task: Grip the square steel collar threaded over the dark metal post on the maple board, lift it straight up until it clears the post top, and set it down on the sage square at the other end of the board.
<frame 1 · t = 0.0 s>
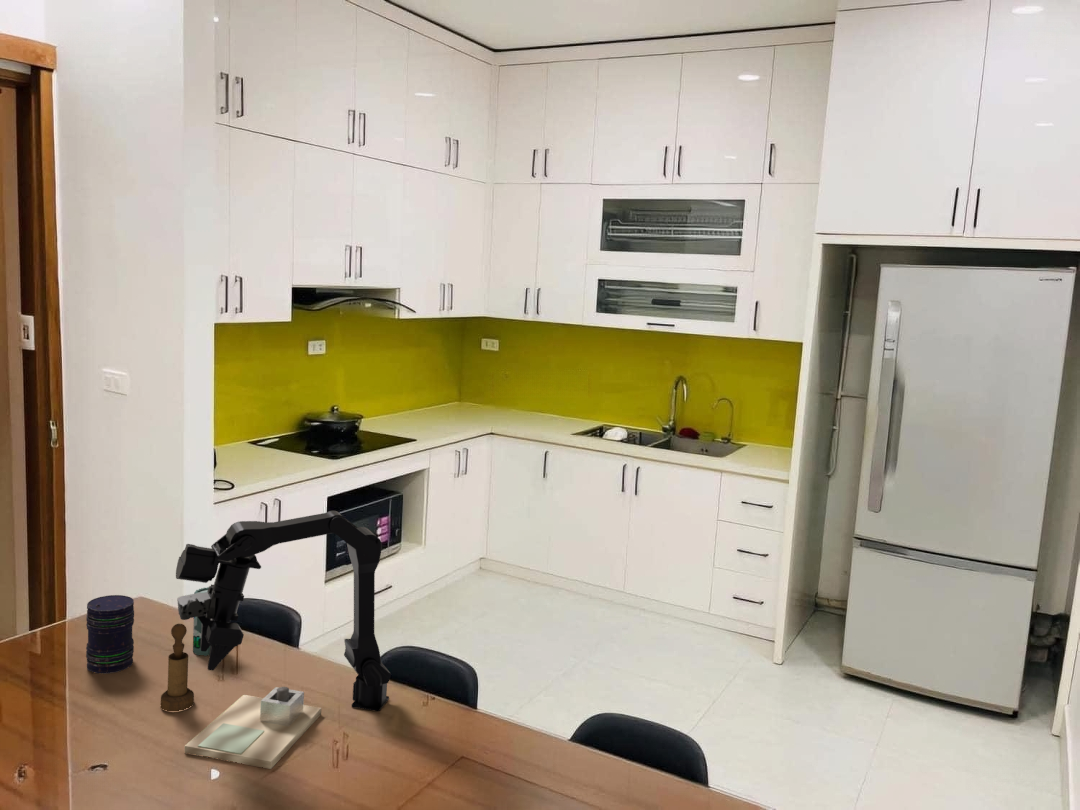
hand: (206, 660, 172), 15 cm above the table, tool pointing down, fingers open, 9 cm apart
storage jar: (110, 665, 200), on the table
can: (206, 651, 211), on the table
collar: (281, 716, 179), point 1 cm above the table, touching board
board: (256, 732, 175), on the table
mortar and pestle: (177, 706, 184), on the table
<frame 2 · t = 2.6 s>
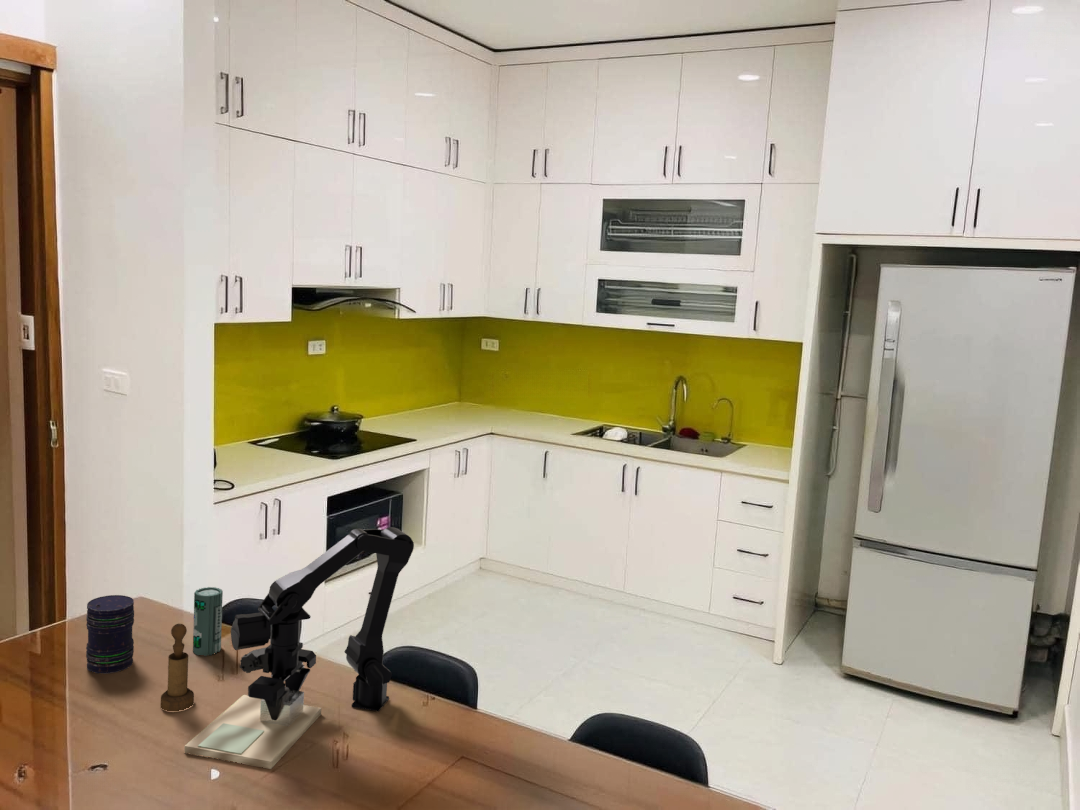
hand: (282, 712, 179), 3 cm above the table, tool pointing down, fingers closed on collar, 6 cm apart
collar: (281, 716, 179), point 2 cm above the table, touching board, gripper
everything else where it was.
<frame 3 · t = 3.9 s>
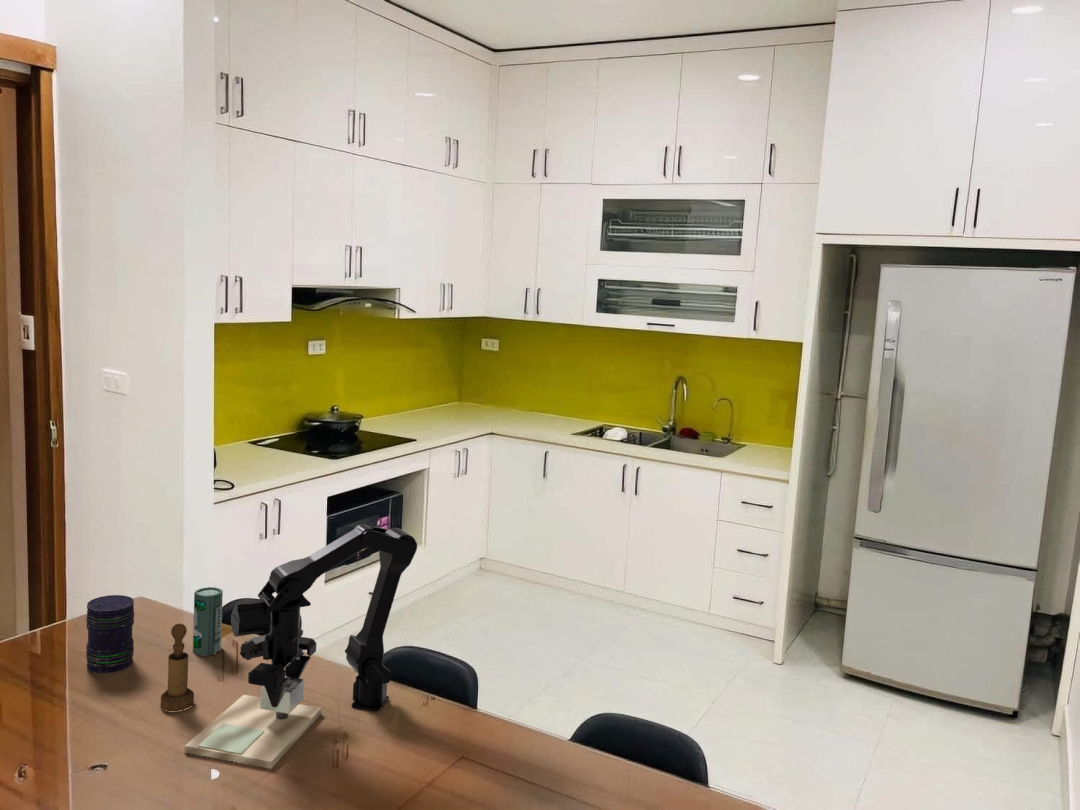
hand: (282, 699, 179), 5 cm above the table, tool pointing down, fingers closed on collar, 6 cm apart
collar: (282, 704, 179), point 4 cm above the table, touching gripper
everything else where it was.
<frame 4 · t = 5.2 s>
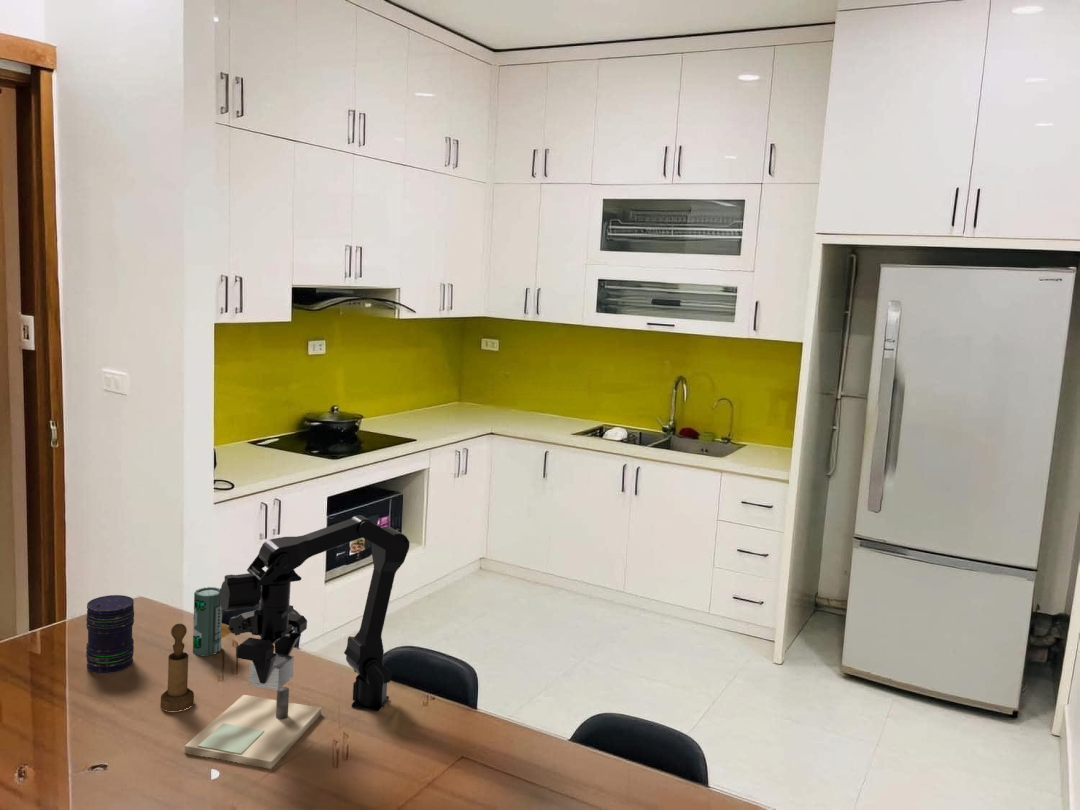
hand: (271, 676, 176), 11 cm above the table, tool pointing down, fingers closed on collar, 6 cm apart
collar: (271, 680, 176), point 10 cm above the table, touching gripper
everything else where it was.
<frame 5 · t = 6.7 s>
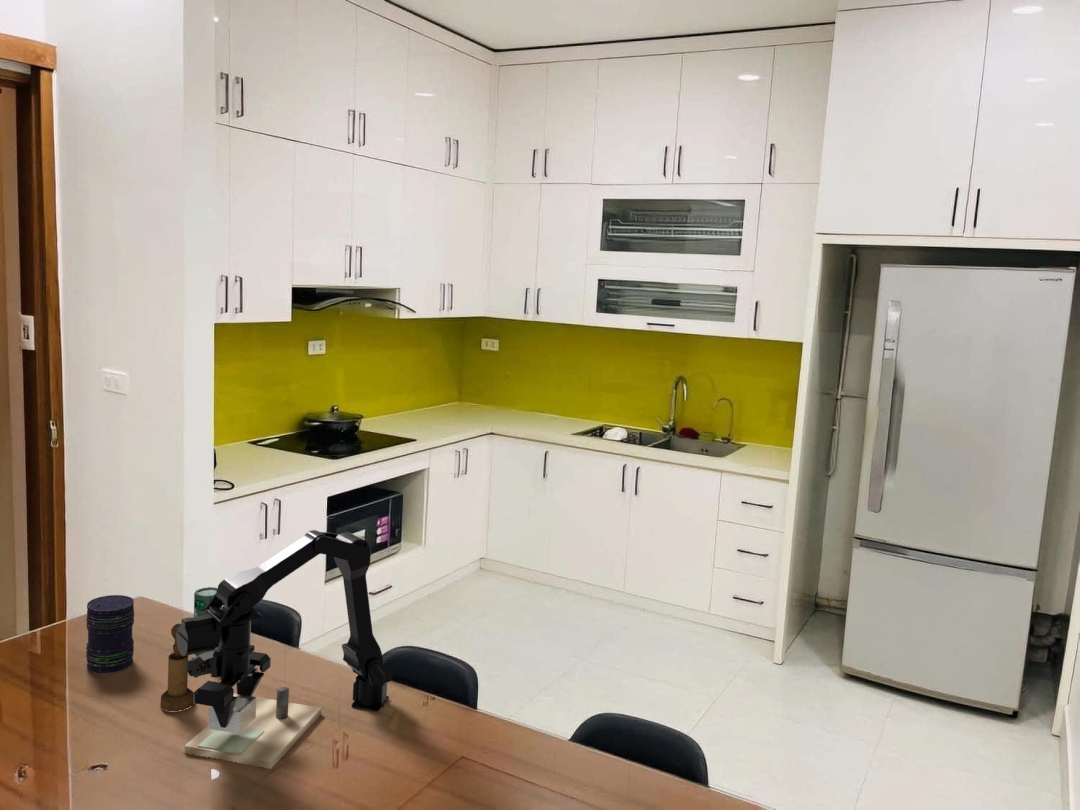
hand: (232, 718, 169), 6 cm above the table, tool pointing down, fingers closed on collar, 6 cm apart
collar: (232, 723, 169), point 5 cm above the table, touching gripper
everything else where it was.
when the fingers open (4 cm above the table, at t = 8.0 s): collar drops 1 cm, resting on board.
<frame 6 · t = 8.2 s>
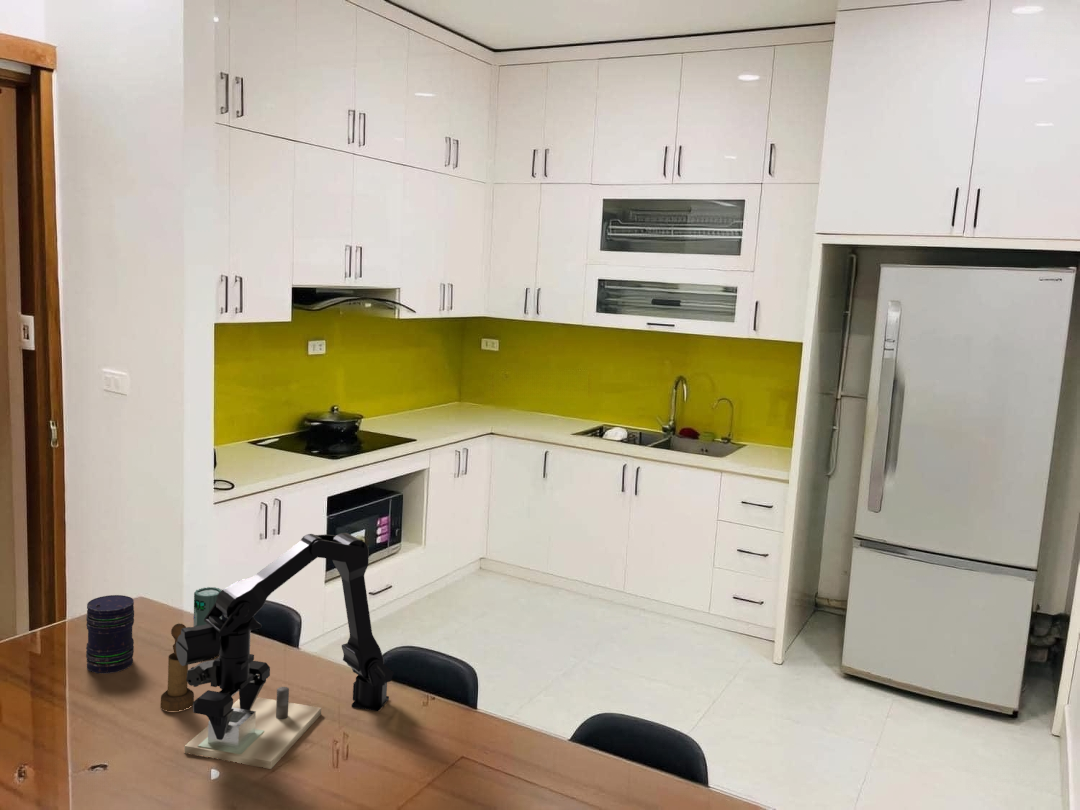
hand: (232, 727, 169), 4 cm above the table, tool pointing down, fingers open, 9 cm apart
collar: (231, 737, 169), point 2 cm above the table, touching board
everything else where it was.
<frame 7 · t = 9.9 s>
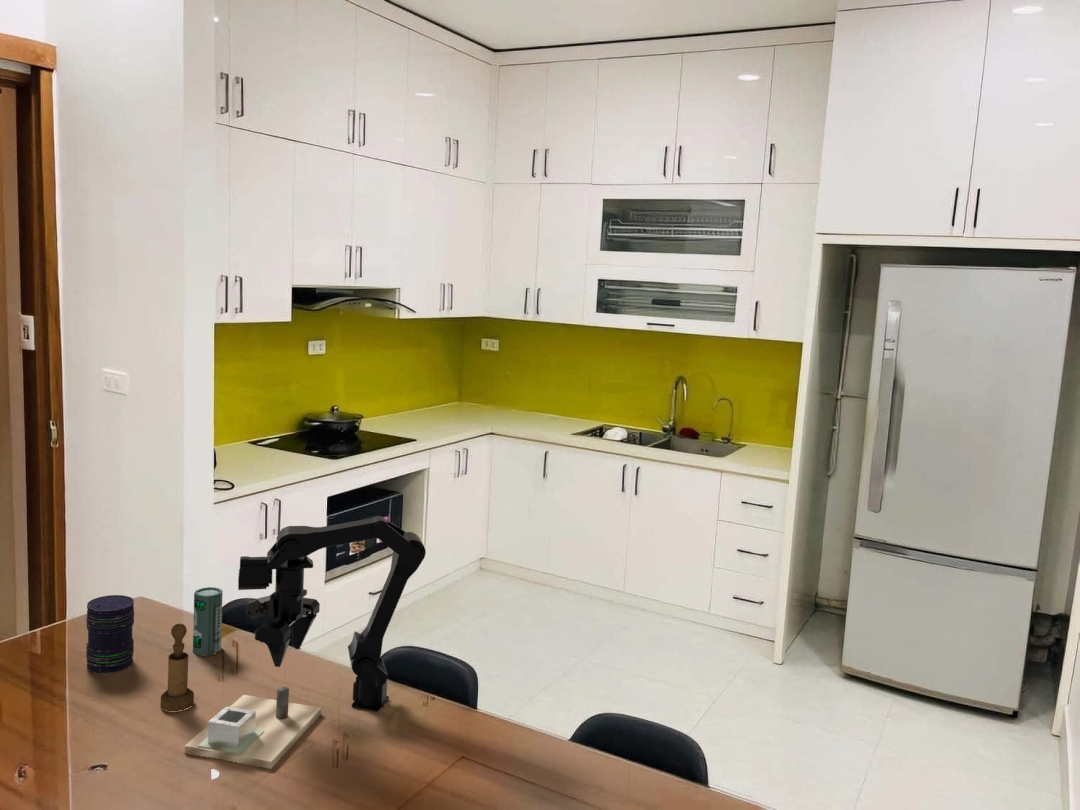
hand: (287, 657, 184), 12 cm above the table, tool pointing down, fingers open, 9 cm apart
nothing on the table moved.
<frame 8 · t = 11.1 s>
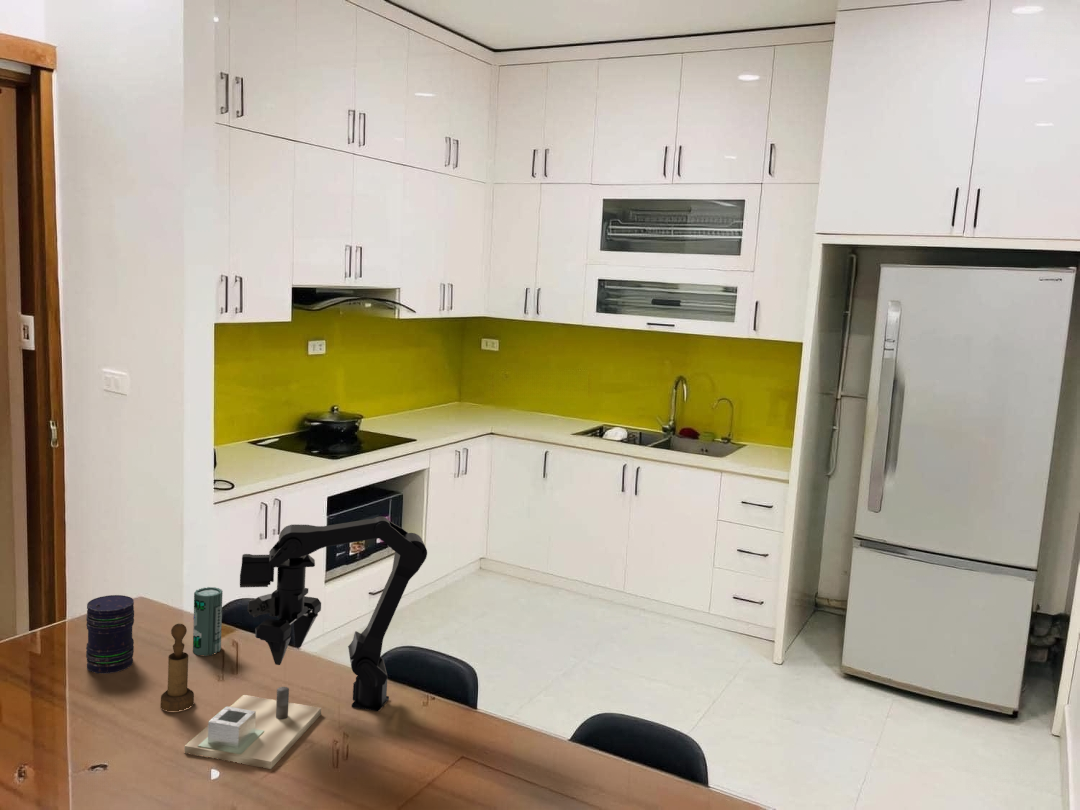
hand: (288, 655, 184), 12 cm above the table, tool pointing down, fingers open, 9 cm apart
nothing on the table moved.
at the end: collar 0.0 cm from the target spot on the board, point 1.7 cm above the board's base; collar tilted 0°; the gripper is holding nothing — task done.
